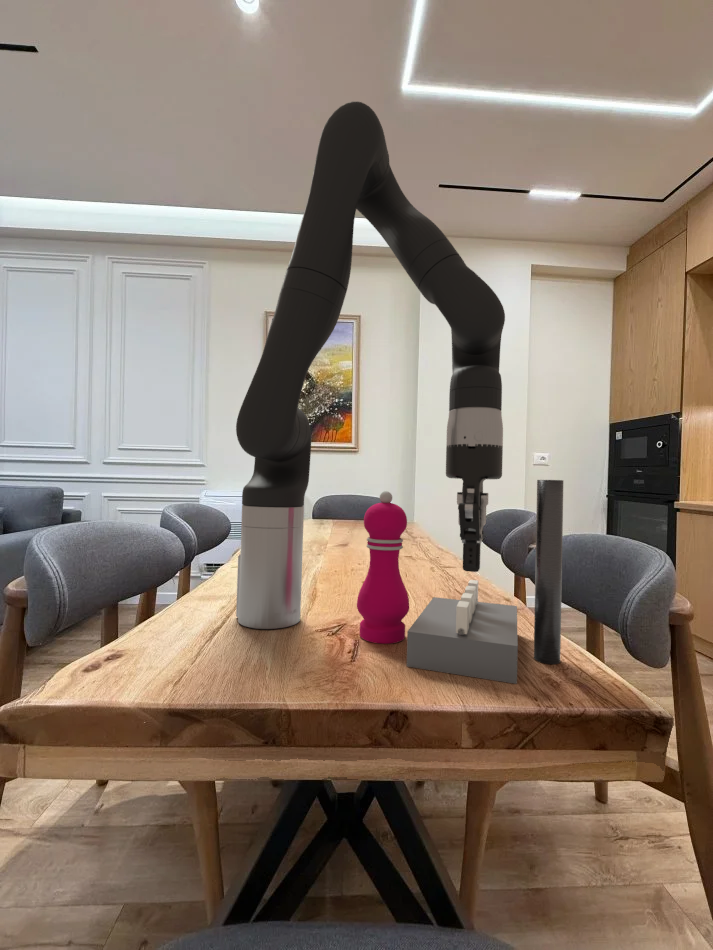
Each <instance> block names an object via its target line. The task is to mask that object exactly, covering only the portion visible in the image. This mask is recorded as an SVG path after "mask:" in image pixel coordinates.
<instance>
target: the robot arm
mask: <svg viewBox="0 0 713 950" xmlns="http://www.w3.org/2000/svg"><path fill="white" fill-rule="evenodd" d="M385 137H386V136H385V132H384V128H383V126H382V124H381V122H380V119H379V118H378V115H377V114H376V112H375V111H374V110H373V109H372V108H371V107H370V106H369V105H368V104H367V103H364V102H362V101H349V102H347V103H344V104H343V105H341V106H339V107H338V108H337V109H335V111H334V112H332V114H331V115H330V116H329V118H328V119H327V121H326V123H325V125H324V126H323V128H322V130H321V134H320V137H319V141H318V146H317V152H316V157H315V162H314V168H313V174H312V177H311V178H312V179H311V183H310V188H309V194H308V196H307V197H308V198H307V202H306V205H305V209H304V212H303V215H302V219H301V222H300V225H299V228H298V232H297V235H296V239H295V241H294V246H293V249H292V253H291V256H290V259H289V261H288V265H287V268H286V271H285V275H284V278H283V281H282V284H281V287H280V292H279V296H278V299H277V304H276V307H275V311H274V314H273V317H272V321H271V324H270V326H269V330H268V333H267V336H266V339H265V340H266V341H265V345H264V347H263V350H262V354H261V356H260V360H259V363H258V365H257V367H256V370H255V373H254V374H253V378H252V379H251V382H250V384H249V385H248V386H249V387H248V388H247V389H248V390H247V391H246V394H245V397H244V399H243V400H242V403H241V405H240V408H239V410H238V411H239V412H238V415H237V419H236V426H235V428H236V429H235V432H236V433H235V434H236V438H237V441H238V444H239V445H240V447H241V449H242V450H243V451H244V452H245V453H246V454H247V455H249V456H251V457H254V466H253V474H252V476H251V478H250V480H249V481H248V482H247V483H246V485H244V486H243V489H242V494H241V529H240V530H241V532H240V534H241V535H240V554H239V555H238V557H237V583H236V609H235V616H236V618H237V622H238V624H240V625H241V626H243V627H248V628H250V629H257V630H258V629H260V630H273V629H282V628H287V627H291V626H294V625H296V624H298V623H299V622H300V620H301V610H302V609H301V607H302V603H301V602H302V585H303V584H302V583H303V582H302V580H303V577H302V576H303V552H304V550H303V548H304V546H303V545H304V516H305V515H304V511H305V495H306V493H307V489H308V486H309V480H310V470H311V469H310V468H311V454H312V453H311V452H312V431H311V430H312V429H311V425H310V420H309V419H308V416H307V415H306V414H305V413H304V412H303V411H302V409H300V408H299V405H300V404H299V403H300V400H301V395H302V391H303V387H304V383H305V379H306V376H307V374H308V372H309V370H310V367H311V365H312V363H313V361H315V358H316V357H317V355H318V354H319V352H320V351H321V350H322V348H323V347H324V346H325V344H326V343H327V342H328V340H329V339H330V337H331V335H332V333H333V331H334V330H335V327H336V326H337V323H338V320H339V318H340V314H341V312H342V308H343V305H344V301H345V300H346V296H347V291H348V287H349V283H350V277H351V271H352V262H353V261H352V259H353V244H354V228H355V227H354V225H355V219H356V212H357V211H358V212H359V213H360V214H361V215H362V216H363V217H364V218H365V219H366V220H367V221H368V222H369V223H370V224H371V225H372V227H373V228H374V229H375V230H376V231H377V232H378V233H379V235H381V237H382V239H383V240H384V241H385V243H386V244H387V246H388V247H389V248H390V250H391V251H392V253H393V254H394V256H395V257H396V260H398V262H399V264H400V265H401V266H402V268H403V269H404V271H405V272H406V275H408V277H409V278H410V280H411V281H412V282H413V284H414V285H415V287H416V288H417V290H418V291H419V292H420V293H421V295H422V296H423V298H425V299H426V301H427V302H429V303H430V304H432V305H435V306H436V308H437V309H438V310H439V312H440V313H441V315H442V316H443V317H444V319H445V320H446V322H447V324H448V325H449V327H450V332H451V364H452V365H451V369H452V370H451V371H452V372H451V373H452V374H451V377H450V382H449V398H448V399H449V401H448V404H449V405H448V419H447V425H446V444H445V445H446V450H445V451H446V452H445V476H446V477H447V478H449V479H455V480H456V479H457V480H458V479H461V481H462V491H457V493H456V505H458V506H457V510H458V520H457V521H458V525H459V537H460V541H461V543H462V544H463V545H462V570H463V571H465V572H473V573H477V572H479V571H480V569H481V546H482V545H481V544H482V541H483V540H484V539H483V538H484V536H483V535H484V526H485V525H486V524H487V506H488V505H489V492H484V481H485V480H500V479H501V478H502V476H503V452H504V451H503V447H504V446H503V444H504V426H503V423H504V422H503V417H502V416H503V415H502V401H503V382H502V375H501V373H500V364H501V362H500V361H501V359H500V358H501V346H502V345H501V343H502V334H503V329H504V326H505V322H506V314H505V308H504V305H503V304H502V302H501V300H500V298H499V297H498V295H497V294H496V292H495V291H494V290H493V289H492V287H490V286H489V284H488V283H486V281H484V280H483V278H481V277H480V275H478V274H477V273H476V272H475V271H474V270H473V269H471V268H470V267H468V265H467V264H466V263H465V260H464V259H463V258H462V256H461V254H459V252H458V251H457V249H456V248H455V247H454V245H453V244H452V243H451V241H450V240H449V238H448V237H447V236H446V235H445V234H444V233H443V231H442V230H441V228H439V226H438V225H436V224H435V223H434V222H433V221H432V220H431V219H430V218H429V217H428V216H426V215H424V214H423V213H422V212H420V211H419V210H418V209H417V208H416V207H415V206H414V205H413V204H412V203H411V202H410V201H409V199H408V198H407V197H406V195H405V194H404V192H403V190H402V189H401V187H400V184H399V183H398V180H397V178H396V176H395V174H394V172H393V170H392V167H391V164H390V155H389V151H388V147H387V141H386V138H385Z"/></svg>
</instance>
